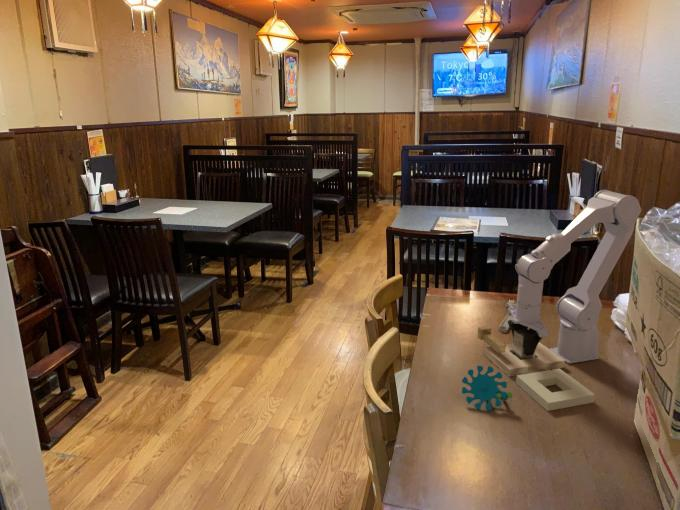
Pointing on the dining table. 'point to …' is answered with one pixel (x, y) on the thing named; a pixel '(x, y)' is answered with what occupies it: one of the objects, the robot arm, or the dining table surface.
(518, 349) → the peg
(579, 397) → the cream square hole plate
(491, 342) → the tan headed bar
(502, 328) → the adjustable wrench
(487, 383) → the teal virus model
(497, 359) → the socket block
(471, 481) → the dining table surface
